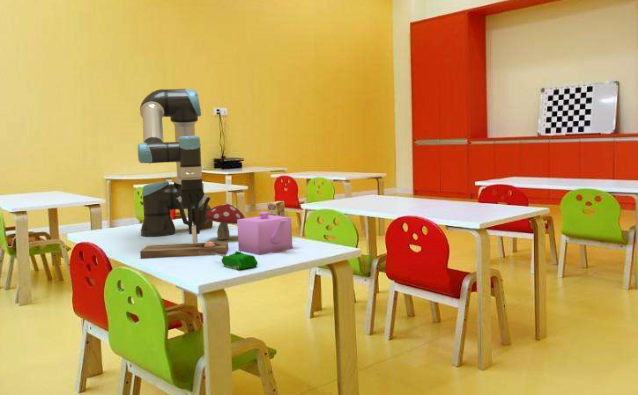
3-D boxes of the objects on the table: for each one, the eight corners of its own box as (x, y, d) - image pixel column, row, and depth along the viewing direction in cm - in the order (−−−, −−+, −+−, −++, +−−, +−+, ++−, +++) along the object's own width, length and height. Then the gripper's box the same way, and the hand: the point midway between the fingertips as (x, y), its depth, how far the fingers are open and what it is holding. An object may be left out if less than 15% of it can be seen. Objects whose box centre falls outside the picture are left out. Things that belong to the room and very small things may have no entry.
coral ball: (202, 245, 213) (209, 238, 213) (210, 253, 214) (217, 245, 214) (201, 248, 209) (209, 240, 209) (209, 255, 210) (217, 247, 210)
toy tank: (225, 259, 198) (225, 245, 197) (258, 267, 184) (257, 252, 183) (208, 263, 193) (207, 248, 193) (239, 271, 179) (239, 255, 179)
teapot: (271, 257, 198) (269, 217, 197) (231, 249, 217) (229, 212, 216) (304, 251, 208) (303, 212, 207) (264, 243, 227) (262, 208, 226)
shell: (191, 227, 278) (190, 202, 277) (214, 226, 279) (213, 201, 278) (188, 230, 268) (187, 204, 266) (212, 229, 269) (211, 203, 267)
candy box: (278, 241, 230) (276, 203, 229) (268, 241, 231) (267, 203, 230) (286, 237, 238) (284, 200, 237) (276, 237, 240) (275, 200, 238)
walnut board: (147, 252, 216) (147, 245, 215) (228, 248, 218) (228, 241, 218) (140, 258, 204) (140, 251, 204) (226, 254, 206) (225, 247, 206)
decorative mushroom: (243, 235, 248) (241, 200, 246) (248, 241, 232) (246, 204, 231) (205, 238, 244) (203, 203, 242) (208, 244, 228) (206, 206, 227)
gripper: (171, 180, 204) (175, 245, 207) (208, 178, 206) (212, 243, 208) (174, 178, 212) (178, 242, 214) (210, 177, 213) (214, 240, 215)
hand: (195, 242), depth 211 cm, fingers closed
